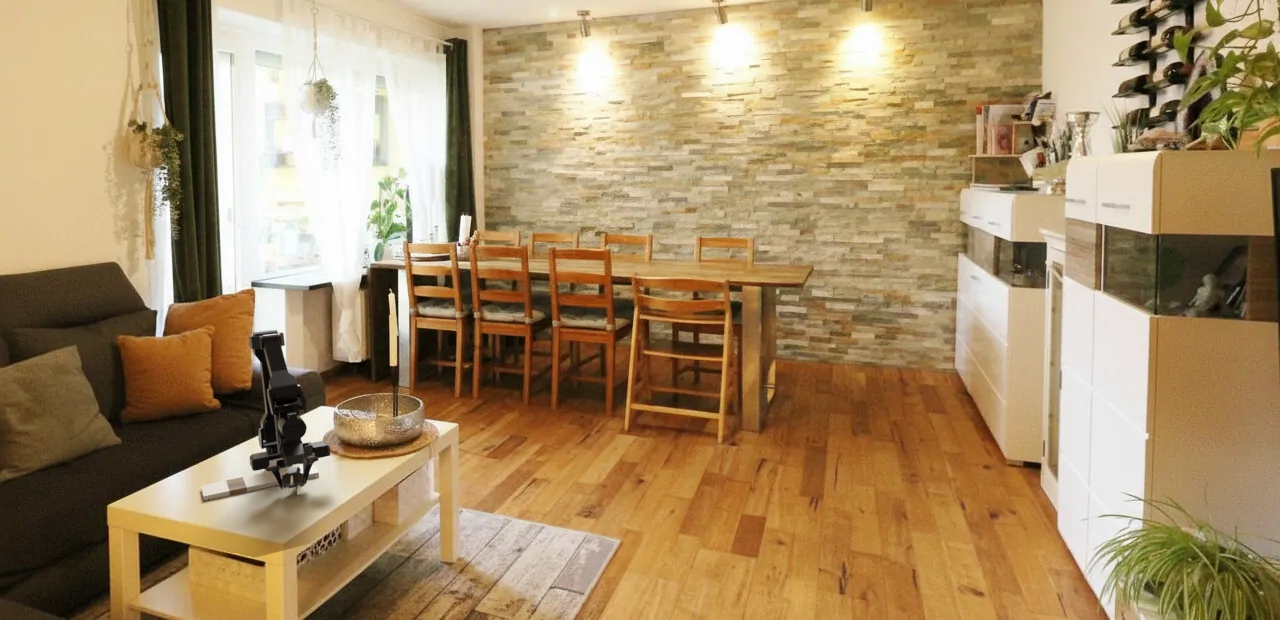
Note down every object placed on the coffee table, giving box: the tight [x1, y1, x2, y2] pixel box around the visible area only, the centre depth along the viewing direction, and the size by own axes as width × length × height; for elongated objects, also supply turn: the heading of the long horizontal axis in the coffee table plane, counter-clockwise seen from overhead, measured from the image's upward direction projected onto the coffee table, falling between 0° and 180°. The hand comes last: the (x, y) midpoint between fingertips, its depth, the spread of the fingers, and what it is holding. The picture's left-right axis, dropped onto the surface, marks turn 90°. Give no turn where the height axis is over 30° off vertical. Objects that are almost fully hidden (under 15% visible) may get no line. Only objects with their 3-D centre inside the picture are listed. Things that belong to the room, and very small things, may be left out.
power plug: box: [281, 466, 306, 497], centre depth 204 cm, size 6×8×12 cm
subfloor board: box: [200, 463, 320, 501], centre depth 209 cm, size 8×28×1 cm, turn 123°
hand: (293, 485), depth 203 cm, fingers closed on power plug, 5 cm apart
